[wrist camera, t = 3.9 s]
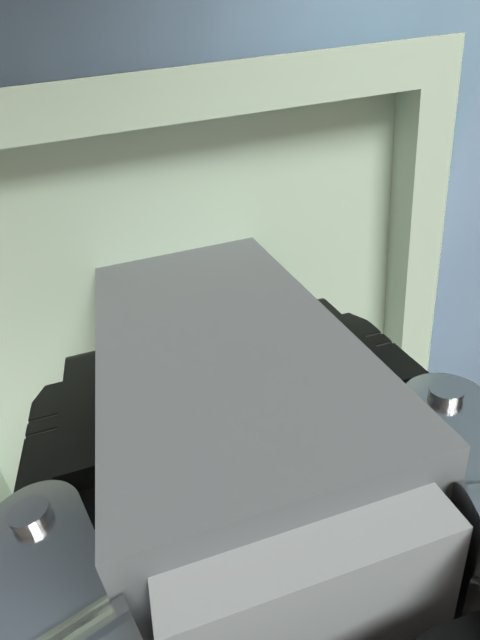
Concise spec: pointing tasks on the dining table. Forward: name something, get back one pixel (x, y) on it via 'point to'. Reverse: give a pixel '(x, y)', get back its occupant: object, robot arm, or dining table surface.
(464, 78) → the dining table surface
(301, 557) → the plug
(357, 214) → the tray
